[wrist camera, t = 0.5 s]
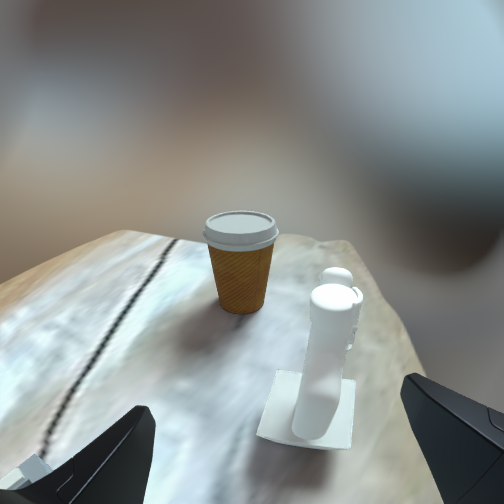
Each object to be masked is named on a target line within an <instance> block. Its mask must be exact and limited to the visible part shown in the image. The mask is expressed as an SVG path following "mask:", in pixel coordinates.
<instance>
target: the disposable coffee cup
mask: <svg viewBox="0 0 504 504" xmlns="http://www.w3.org/2000/svg"><path fill="white" fill-rule="evenodd" d="M278 233H279V230H278V229H277V227H276V224H275V220H274V219H273V218H272V217H270V216H269V215H266V214H263V213H259V212H253V211H230V212H224V213H220V214H216V215H214V216H212V217H210V218H209V219H207V221H206V225H205V228H204V230H203V237H204V238H205V240H206V242H207V244H208V249H209V253H210V258H211V263H212V268H213V273H214V277H215V282H216V287H217V291H218V296H219V300H220V305H221V306H222V307H223V308H224V309H225V310H226V311H229V312H231V313H235V314H248V313H252V312H254V311H257V310H258V309H260V308H261V307H262V305H263V303H264V298H265V292H266V287H267V281H268V275H269V269H270V264H271V258H272V252H273V247H274V242H275V240H276V237H277V236H278Z"/></svg>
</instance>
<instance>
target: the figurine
mask: <svg viewBox="0 0 504 504" xmlns="http://www.w3.org/2000/svg"><path fill="white" fill-rule="evenodd" d="M352 283H353V278H352V275H351V273H350V272H349V271H347V270H345V269H343V268H337V267H332V268H328V269H326V270H324V271H323V273H322V275H321V278H320V284H319V287H317V288H315V289H314V290H313V291H312V292H311V295H310V321H311V329H310V335H309V340H308V346H307V352H306V357H305V362H304V368H303V373H296V372H290V371H285V370H279V369H277V372H276V376H275V379H274V382H273V385H272V388H271V391H270V394H269V397H268V401H267V404H266V407H265V410H264V412H263V415H262V418H261V421H260V424H259V427H258V430H257V433H256V435H257V436H260V437H262V438H265V439H268V440H270V441H273V442H276V443H281V444H287V445H292V446H299V447H305V448H313V449H321V450H340V449H350V448H351V439H352V428H353V416H354V400H355V380H348V379H342V369H343V365H344V362H345V358H346V354H347V351H350V350H351V347H352V344H353V342H354V338H355V332H357V328H355V326H356V324H357V322H358V318H359V314H360V310H361V306H362V301H363V295H362V293H361V291H360V290H359V289H358V288H356V287H353V288H352ZM351 288H352V289H351Z"/></svg>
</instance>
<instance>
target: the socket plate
mask: <svg viewBox="0 0 504 504" xmlns="http://www.w3.org/2000/svg"><path fill="white" fill-rule="evenodd" d="M52 471H53V470H52V469H51V468H50V466H49V465H48V464H46V463H45V462H44V461H43V460H41V459H40V458H39V457H38V456H37V455H35V454H34V455H32V456H31V457H30V458H28V459H27V460H26V461H25V462H23V463H22V464H21V465H20V466H18V467H16V468H15V469H13V470H12V471H11V472H10V473H8V474H7V475H6V476H4V477H3V478H2V479H1V480H0V489H7V490H17V489H21V488H24V487H26V486H28V485H30V484H32V483H34V482H35V481H37V480H39V479H41V478H42V477H44V476H46V475H48V474H49V473H51V472H52Z"/></svg>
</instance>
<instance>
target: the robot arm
mask: <svg viewBox="0 0 504 504" xmlns="http://www.w3.org/2000/svg"><path fill="white" fill-rule="evenodd" d="M400 395H401V399H402V402H403V405H404V408H405V411H406V413H407V416H408V419H409V422H410V425H411V428H412V431H413V433H414V435H415V437H416V439H417V442H418V444H419V446H420V448H421V450H422V452H423V455H424V457H425V459H426V461H427V464H428V466H429V468H430V471H431V473H432V475H433V478H434V480H435V482H436V485H437V487H438V490H439V492H440V495H441V497H442V500H443V502H444V504H504V414H503V413H501V412H498V411H496V410H494V409H491V408H489V407H488V408H487V407H486V406H485V405H482V404H480V403H478V402H476V401H474V400H472V399H469V398H467V397H465V396H463V395H461V394H458V393H457V392H455V391H452V390H450V389H448V388H446V387H444V386H442V385H440V384H438V383H436V382H434V381H432V380H430V379H428V378H426V377H424V376H422V375H420V374H418V373H412V374H409V375H406V376H405V377H404V380H403V384H402V388H401V392H400ZM155 428H156V423H155V420H154V418H153V416H152V414H151V412H150V410H149V408H148V407H147V406H141V405H137V406H135V407H134V408H132V409H131V410H130V411H129V412H128V413H126V414H125V415H124V416H123V417H122V418H120V419H119V420H118V421H117V422H116V423H114V424H113V425H112V426H111V427H110V428H108V429H107V430H106V431H105V432H103V433H102V434H101V435H100V436H99V437H97V438H96V439H95V440H94V441H92V442H91V443H90V444H89V445H87V446H86V447H85V448H84V449H82V450H81V451H80V452H78V453H77V454H76V455H75V456H73V458H71V459H69V460H68V461H67V462H65V463H64V464H63V465H61V466H60V467H58V468H57V469H56V470H54V471H52V472H51V473H49V474H48V475H46V476H44V477H42V478H41V479H39V480H37V481H35V482H34V483H32V484H30V485H28V486H26V487H24V488H21V489H17V490H7V489H0V504H143V501H144V496H145V491H146V486H147V482H148V477H149V472H150V468H151V463H152V457H153V447H154V437H155Z"/></svg>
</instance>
